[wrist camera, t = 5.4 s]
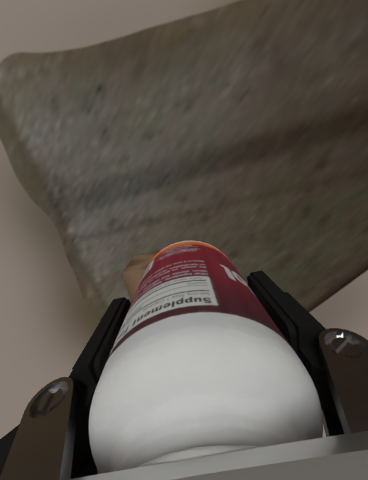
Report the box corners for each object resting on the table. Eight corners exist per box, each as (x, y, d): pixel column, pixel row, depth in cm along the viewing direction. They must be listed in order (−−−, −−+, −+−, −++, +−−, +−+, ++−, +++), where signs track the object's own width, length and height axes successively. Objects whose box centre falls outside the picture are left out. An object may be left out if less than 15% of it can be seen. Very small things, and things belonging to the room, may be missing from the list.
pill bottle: (244, 303, 13) (494, 753, 3) (164, 328, 14) (112, 800, 3) (219, 223, 12) (605, 570, 1) (129, 255, 12) (-216, 722, 2)
